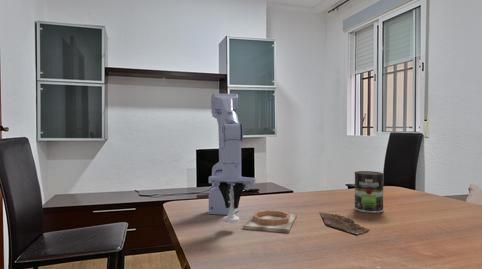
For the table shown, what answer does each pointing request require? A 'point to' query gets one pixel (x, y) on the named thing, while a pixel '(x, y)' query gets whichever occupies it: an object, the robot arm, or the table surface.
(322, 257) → the table surface
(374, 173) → the coffee can
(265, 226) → the birch board
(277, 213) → the ring collar
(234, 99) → the robot arm
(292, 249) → the table surface
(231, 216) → the chess piece
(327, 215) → the wooden fragment
